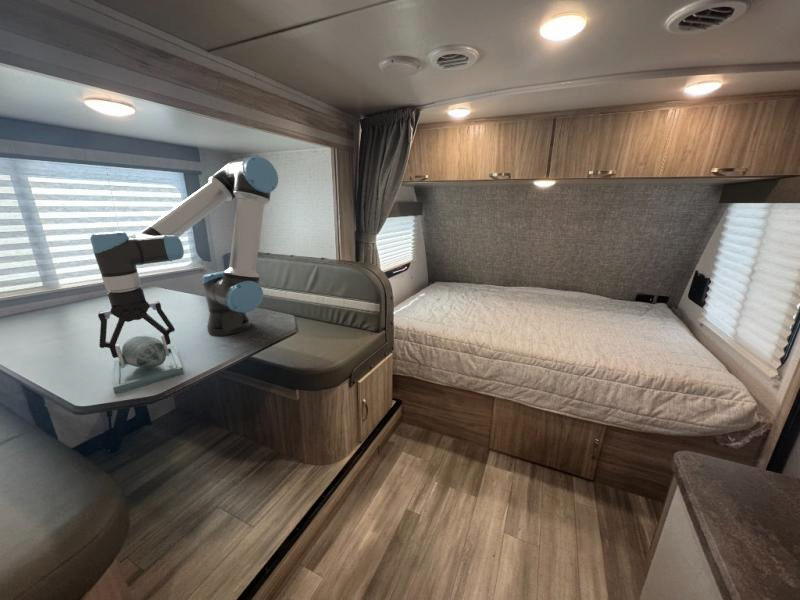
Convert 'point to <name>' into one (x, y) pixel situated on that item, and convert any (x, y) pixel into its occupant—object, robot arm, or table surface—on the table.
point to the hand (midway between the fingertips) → (146, 359)
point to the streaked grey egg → (144, 352)
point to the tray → (145, 373)
